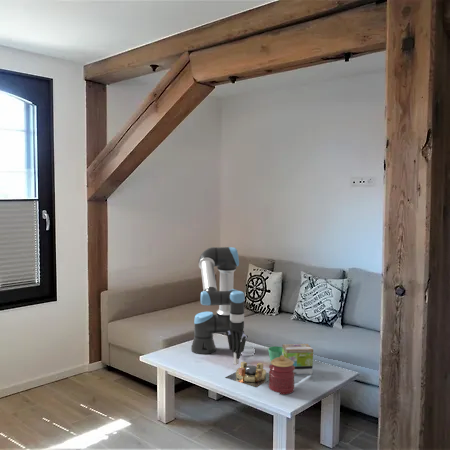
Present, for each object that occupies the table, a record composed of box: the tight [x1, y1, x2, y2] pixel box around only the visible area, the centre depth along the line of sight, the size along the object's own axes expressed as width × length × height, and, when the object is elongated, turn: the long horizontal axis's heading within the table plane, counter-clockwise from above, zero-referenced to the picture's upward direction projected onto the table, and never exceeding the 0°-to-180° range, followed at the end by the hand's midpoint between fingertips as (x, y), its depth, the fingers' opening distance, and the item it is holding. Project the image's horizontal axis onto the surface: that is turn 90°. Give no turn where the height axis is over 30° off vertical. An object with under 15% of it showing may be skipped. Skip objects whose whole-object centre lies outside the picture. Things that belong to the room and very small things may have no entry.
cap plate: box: [224, 364, 269, 388], centre depth 259 cm, size 20×20×6 cm
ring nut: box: [235, 361, 267, 382], centre depth 259 cm, size 16×16×5 cm
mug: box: [268, 345, 282, 361], centre depth 279 cm, size 15×10×10 cm
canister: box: [268, 355, 296, 395], centre depth 245 cm, size 13×13×18 cm
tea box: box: [281, 343, 314, 376], centre depth 268 cm, size 15×10×15 cm, turn 99°
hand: (236, 363), depth 258 cm, fingers closed
